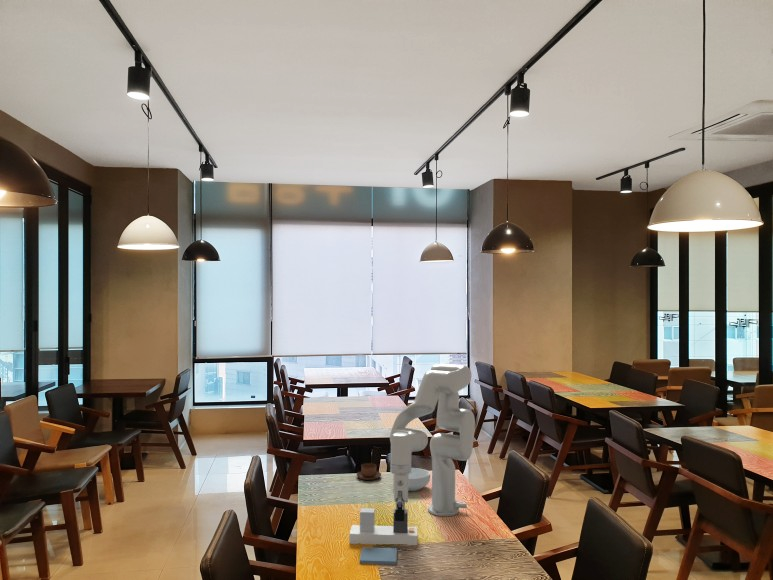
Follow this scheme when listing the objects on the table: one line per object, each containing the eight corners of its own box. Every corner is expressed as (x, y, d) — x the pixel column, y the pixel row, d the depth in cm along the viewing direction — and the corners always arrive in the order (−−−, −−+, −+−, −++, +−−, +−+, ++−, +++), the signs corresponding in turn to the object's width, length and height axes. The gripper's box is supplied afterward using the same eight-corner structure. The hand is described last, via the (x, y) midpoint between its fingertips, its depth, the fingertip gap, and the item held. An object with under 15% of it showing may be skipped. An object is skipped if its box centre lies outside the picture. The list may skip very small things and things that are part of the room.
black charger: (407, 532, 212) (407, 509, 212) (407, 537, 208) (407, 513, 208) (393, 532, 212) (393, 508, 212) (393, 536, 208) (393, 513, 208)
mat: (396, 551, 201) (396, 548, 201) (396, 564, 191) (396, 561, 191) (362, 550, 201) (362, 547, 202) (359, 563, 192) (359, 560, 192)
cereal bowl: (412, 480, 280) (412, 465, 280) (437, 488, 267) (437, 473, 267) (385, 487, 268) (386, 472, 268) (411, 497, 256) (411, 480, 256)
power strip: (417, 536, 214) (417, 525, 214) (417, 545, 206) (417, 533, 206) (351, 534, 215) (351, 523, 215) (349, 543, 207) (349, 532, 207)
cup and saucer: (358, 473, 289) (359, 461, 289) (382, 474, 288) (382, 462, 288) (354, 481, 277) (354, 468, 277) (379, 482, 276) (379, 469, 276)
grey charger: (374, 531, 212) (374, 508, 212) (373, 536, 208) (374, 512, 208) (360, 531, 213) (361, 508, 213) (359, 535, 209) (360, 512, 209)
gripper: (411, 475, 201) (410, 525, 201) (411, 462, 219) (410, 508, 218) (389, 474, 202) (388, 524, 201) (391, 461, 219) (390, 507, 218)
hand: (399, 516), depth 210 cm, fingers open, 9 cm apart
